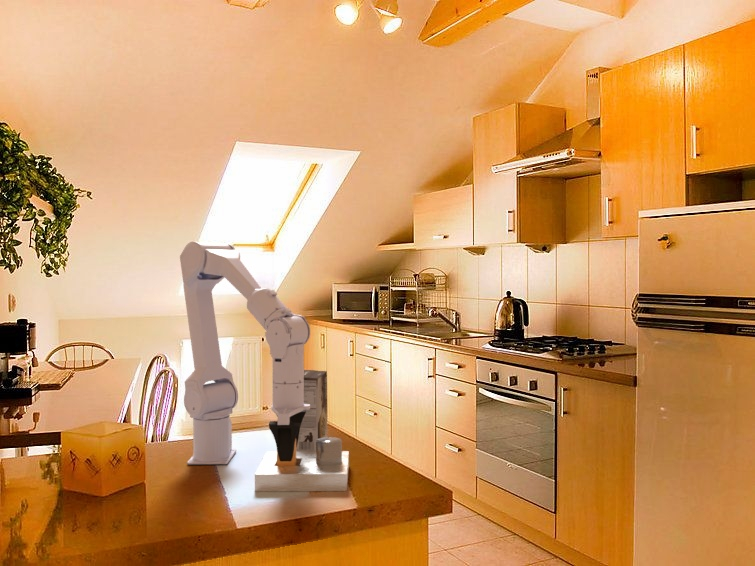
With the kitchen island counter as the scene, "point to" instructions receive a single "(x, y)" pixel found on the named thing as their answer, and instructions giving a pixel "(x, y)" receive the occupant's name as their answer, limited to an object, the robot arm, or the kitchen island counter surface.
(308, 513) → the kitchen island counter surface
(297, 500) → the kitchen island counter surface
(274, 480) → the white base platform
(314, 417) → the coffee box
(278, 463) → the orange rectangular block
